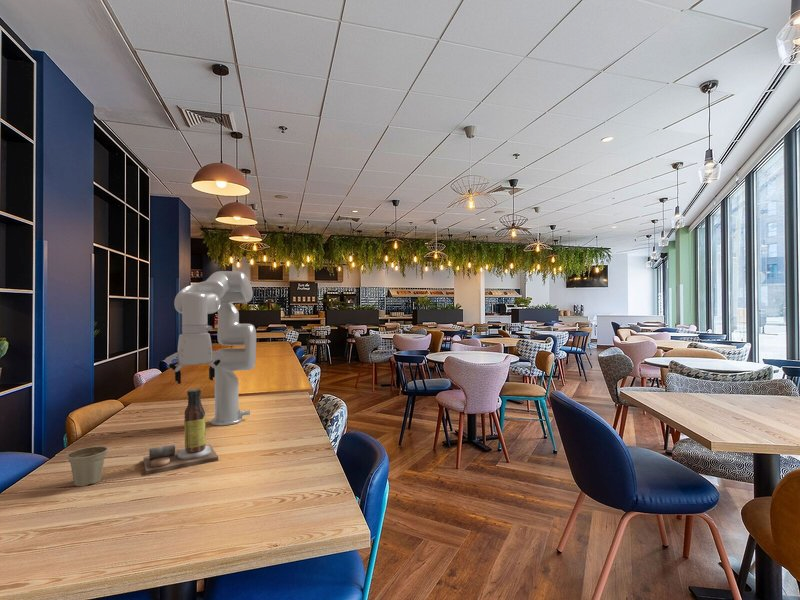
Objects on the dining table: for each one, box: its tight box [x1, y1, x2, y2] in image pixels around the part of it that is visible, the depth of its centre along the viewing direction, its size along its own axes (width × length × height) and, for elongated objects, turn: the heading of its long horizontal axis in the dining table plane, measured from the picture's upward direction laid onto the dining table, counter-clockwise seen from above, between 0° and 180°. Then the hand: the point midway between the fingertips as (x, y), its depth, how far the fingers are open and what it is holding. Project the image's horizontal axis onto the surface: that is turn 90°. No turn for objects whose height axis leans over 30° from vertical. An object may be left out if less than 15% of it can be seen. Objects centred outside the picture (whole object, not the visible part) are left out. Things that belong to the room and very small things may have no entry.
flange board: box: [143, 444, 219, 476], centre depth 133 cm, size 20×14×4 cm
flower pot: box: [66, 445, 109, 487], centre depth 117 cm, size 9×9×9 cm
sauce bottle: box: [183, 388, 207, 453], centre depth 136 cm, size 7×6×20 cm
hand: (195, 381), depth 136 cm, fingers open, 9 cm apart
